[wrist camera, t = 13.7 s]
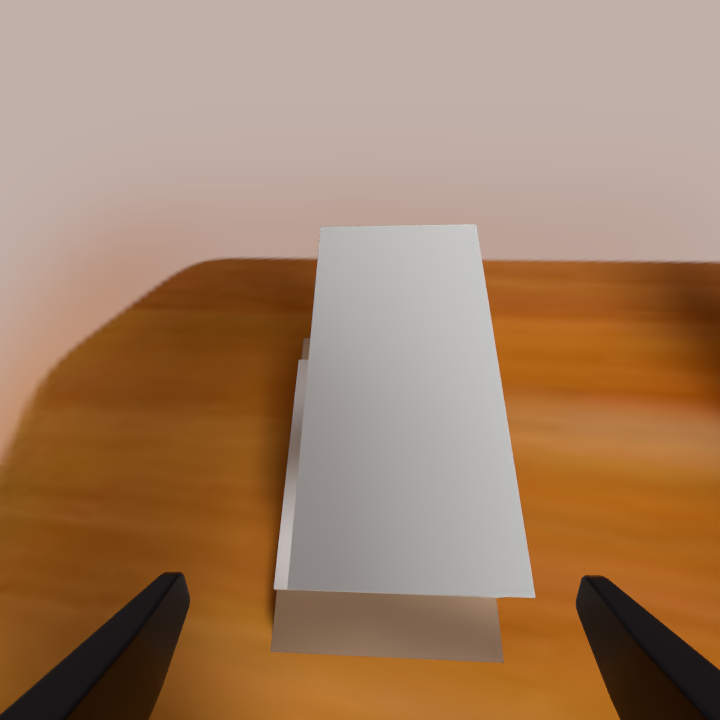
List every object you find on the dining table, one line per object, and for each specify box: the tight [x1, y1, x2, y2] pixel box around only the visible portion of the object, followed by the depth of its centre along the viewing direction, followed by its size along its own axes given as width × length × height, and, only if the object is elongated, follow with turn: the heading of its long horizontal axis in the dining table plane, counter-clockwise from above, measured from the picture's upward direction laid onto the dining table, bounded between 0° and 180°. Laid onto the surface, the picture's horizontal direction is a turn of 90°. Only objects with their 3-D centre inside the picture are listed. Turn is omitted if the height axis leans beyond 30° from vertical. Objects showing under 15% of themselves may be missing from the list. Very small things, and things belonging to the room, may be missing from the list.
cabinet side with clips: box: [271, 338, 504, 663], centre depth 16 cm, size 14×9×4 cm, turn 178°
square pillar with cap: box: [287, 224, 535, 598], centre depth 11 cm, size 7×5×12 cm
